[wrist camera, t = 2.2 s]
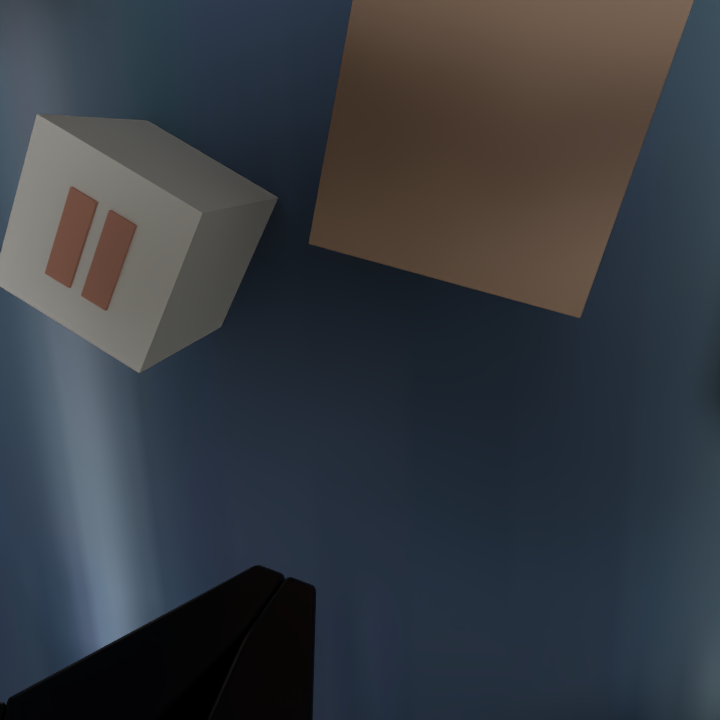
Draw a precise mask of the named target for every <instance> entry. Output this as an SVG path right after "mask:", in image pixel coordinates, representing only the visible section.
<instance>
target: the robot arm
mask: <svg viewBox="0 0 720 720" xmlns="http://www.w3.org/2000/svg"><path fill="white" fill-rule="evenodd" d="M315 612H316V589H315V587H314V586H313V585H311V584H308V583H306V582H303V581H300V580H298V579H295V578H292V577H289V578H286V579H285V577H284V575H283V574H281V573H279V572H277V571H274V570H271V569H269V568H266V567H263V566H260V565H257V566H253V567H251V568H249V569H247V570H246V571H244V572H242V573H240V574H238V575H236V576H234V577H233V578H231V579H229V580H227V581H225V582H223V583H221V584H220V585H218V586H216V587H214V588H212V589H210V590H208V591H207V592H205V593H203V594H201V595H199V596H197V597H195V598H194V599H192V600H190V601H188V602H186V603H184V604H182V605H181V606H179V607H177V608H175V609H173V610H171V611H169V612H168V613H166V614H164V615H162V616H160V617H158V618H156V619H155V620H153V621H151V622H149V623H147V624H145V625H143V626H142V627H140V628H138V629H136V630H134V631H132V632H130V633H129V634H127V635H125V636H123V637H121V638H119V639H117V640H116V641H114V642H112V643H110V644H108V645H106V646H104V647H103V648H101V649H99V650H97V651H95V652H93V653H91V654H90V655H88V656H86V657H84V658H82V659H80V660H78V661H77V662H75V663H73V664H71V665H69V666H67V667H65V668H64V669H62V670H60V671H58V672H56V673H54V674H52V675H51V676H49V677H47V678H45V679H43V680H41V681H39V682H38V683H36V684H34V685H32V686H30V687H28V688H26V689H25V690H23V691H21V692H19V693H17V694H15V695H13V696H12V697H10V698H9V699H8V701H7V704H5V703H4V702H0V720H313V686H314V649H315Z"/></svg>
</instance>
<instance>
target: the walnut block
mask: <svg viewBox="0 0 720 720" xmlns="http://www.w3.org/2000/svg"><path fill="white" fill-rule="evenodd" d="M693 1H694V0H353V2H352V7H351V13H350V18H349V24H348V29H347V35H346V40H345V46H344V51H343V57H342V62H341V68H340V73H339V79H338V84H337V90H336V95H335V101H334V106H333V112H332V117H331V123H330V128H329V134H328V139H327V145H326V150H325V156H324V161H323V167H322V172H321V178H320V183H319V189H318V194H317V200H316V205H315V211H314V216H313V222H312V228H311V233H310V239H309V244H311V245H315V246H318V247H322V248H326V249H329V250H333V251H337V252H340V253H344V254H347V255H351V256H355V257H358V258H362V259H366V260H369V261H373V262H377V263H380V264H384V265H388V266H391V267H395V268H399V269H402V270H406V271H410V272H413V273H417V274H420V275H424V276H428V277H431V278H435V279H439V280H442V281H446V282H450V283H453V284H457V285H461V286H464V287H468V288H472V289H475V290H479V291H482V292H486V293H490V294H493V295H497V296H501V297H504V298H508V299H512V300H515V301H519V302H523V303H526V304H530V305H534V306H537V307H541V308H545V309H548V310H552V311H555V312H559V313H563V314H566V315H570V316H574V317H577V318H580V317H581V314H582V312H583V309H584V306H585V303H586V301H587V298H588V295H589V292H590V289H591V287H592V284H593V281H594V278H595V275H596V273H597V270H598V267H599V264H600V261H601V259H602V256H603V253H604V250H605V247H606V245H607V242H608V239H609V236H610V233H611V231H612V228H613V225H614V222H615V219H616V217H617V214H618V211H619V208H620V205H621V203H622V200H623V197H624V194H625V191H626V189H627V186H628V183H629V180H630V177H631V175H632V172H633V169H634V166H635V163H636V161H637V158H638V155H639V152H640V149H641V147H642V144H643V141H644V138H645V135H646V133H647V130H648V127H649V124H650V122H651V119H652V116H653V113H654V110H655V108H656V105H657V102H658V99H659V96H660V94H661V91H662V88H663V85H664V82H665V80H666V77H667V74H668V71H669V68H670V66H671V63H672V60H673V57H674V54H675V52H676V49H677V46H678V43H679V40H680V38H681V35H682V32H683V29H684V26H685V24H686V21H687V18H688V15H689V12H690V10H691V7H692V4H693Z"/></svg>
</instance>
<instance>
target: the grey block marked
mask: <svg viewBox="0 0 720 720" xmlns="http://www.w3.org/2000/svg"><path fill="white" fill-rule="evenodd" d="M277 200H278V197H277V196H275V195H273V194H271V193H270V192H268V191H266V190H265V189H263V188H261V187H260V186H258V185H256V184H255V183H253V182H251V181H249V180H248V179H246V178H244V177H243V176H241V175H239V174H238V173H236V172H234V171H233V170H231V169H229V168H227V167H226V166H224V165H222V164H221V163H219V162H217V161H216V160H214V159H212V158H210V157H209V156H207V155H205V154H204V153H202V152H200V151H199V150H197V149H195V148H194V147H192V146H190V145H188V144H187V143H185V142H183V141H182V140H180V139H178V138H177V137H175V136H173V135H171V134H170V133H168V132H166V131H165V130H163V129H161V128H160V127H158V126H156V125H155V124H153V123H151V122H149V121H148V120H133V119H116V118H99V117H82V116H65V115H48V114H37V115H36V119H35V123H34V127H33V131H32V135H31V138H30V142H29V146H28V150H27V154H26V158H25V161H24V165H23V169H22V173H21V177H20V181H19V185H18V188H17V192H16V196H15V200H14V204H13V208H12V211H11V215H10V219H9V223H8V227H7V231H6V234H5V238H4V242H3V246H2V250H1V254H0V287H2V288H4V289H5V290H7V291H8V292H10V293H12V294H13V295H15V296H16V297H18V298H20V299H21V300H23V301H24V302H26V303H28V304H29V305H31V306H32V307H34V308H36V309H37V310H39V311H40V312H42V313H44V314H45V315H47V316H48V317H50V318H52V319H53V320H55V321H56V322H58V323H60V324H61V325H63V326H64V327H66V328H68V329H69V330H71V331H72V332H74V333H76V334H77V335H79V336H80V337H82V338H84V339H85V340H87V341H88V342H90V343H92V344H93V345H95V346H96V347H98V348H100V349H101V350H103V351H104V352H106V353H108V354H109V355H111V356H112V357H114V358H116V359H117V360H119V361H120V362H122V363H124V364H125V365H127V366H128V367H130V368H132V369H133V370H135V371H136V372H138V373H141V372H143V371H144V370H146V369H148V368H150V367H151V366H153V365H155V364H157V363H158V362H160V361H162V360H164V359H165V358H167V357H169V356H171V355H173V354H174V353H176V352H178V351H180V350H181V349H183V348H185V347H187V346H188V345H190V344H192V343H194V342H195V341H197V340H199V339H201V338H203V337H204V336H206V335H208V334H210V333H211V332H213V331H215V330H217V329H218V328H220V327H221V326H222V324H223V322H224V319H225V317H226V315H227V313H228V310H229V308H230V306H231V304H232V301H233V299H234V297H235V295H236V292H237V290H238V288H239V286H240V283H241V281H242V279H243V277H244V274H245V272H246V270H247V268H248V265H249V263H250V261H251V258H252V256H253V254H254V252H255V249H256V247H257V245H258V243H259V240H260V238H261V236H262V234H263V231H264V229H265V227H266V225H267V222H268V220H269V218H270V216H271V213H272V211H273V209H274V207H275V204H276V202H277Z"/></svg>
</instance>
